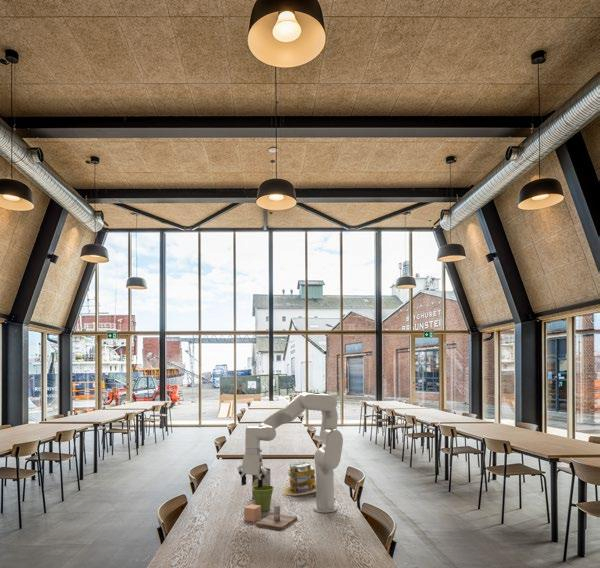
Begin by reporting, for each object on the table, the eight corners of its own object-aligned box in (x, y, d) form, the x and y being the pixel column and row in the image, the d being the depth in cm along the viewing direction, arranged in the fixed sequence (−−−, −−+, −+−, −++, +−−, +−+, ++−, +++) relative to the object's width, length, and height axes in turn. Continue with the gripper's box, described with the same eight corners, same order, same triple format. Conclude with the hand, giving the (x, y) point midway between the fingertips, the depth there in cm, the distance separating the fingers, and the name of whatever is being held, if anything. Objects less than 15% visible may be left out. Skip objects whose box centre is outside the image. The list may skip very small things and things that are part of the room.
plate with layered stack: (280, 497, 287) (280, 467, 289) (285, 485, 311) (285, 457, 313) (323, 497, 284) (322, 467, 286) (325, 486, 309) (324, 458, 311)
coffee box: (251, 497, 286) (251, 468, 288) (258, 495, 291) (258, 466, 293) (264, 500, 281) (264, 470, 283) (271, 497, 286) (270, 468, 288)
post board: (272, 516, 254) (272, 499, 255) (297, 520, 248) (297, 503, 249) (256, 526, 240) (256, 508, 241) (281, 530, 234) (281, 512, 235)
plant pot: (277, 511, 261) (277, 489, 263) (255, 514, 257) (255, 491, 258) (270, 505, 272) (270, 483, 274) (249, 507, 268) (249, 485, 269)
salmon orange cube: (250, 516, 254) (250, 504, 255) (260, 518, 251) (260, 505, 252) (244, 520, 249) (244, 507, 249) (254, 521, 246) (254, 509, 247)
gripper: (270, 451, 254) (270, 486, 251) (242, 448, 261) (241, 482, 259) (263, 454, 247) (262, 490, 245) (234, 450, 255) (233, 485, 252)
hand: (251, 486), depth 252 cm, fingers open, 9 cm apart
